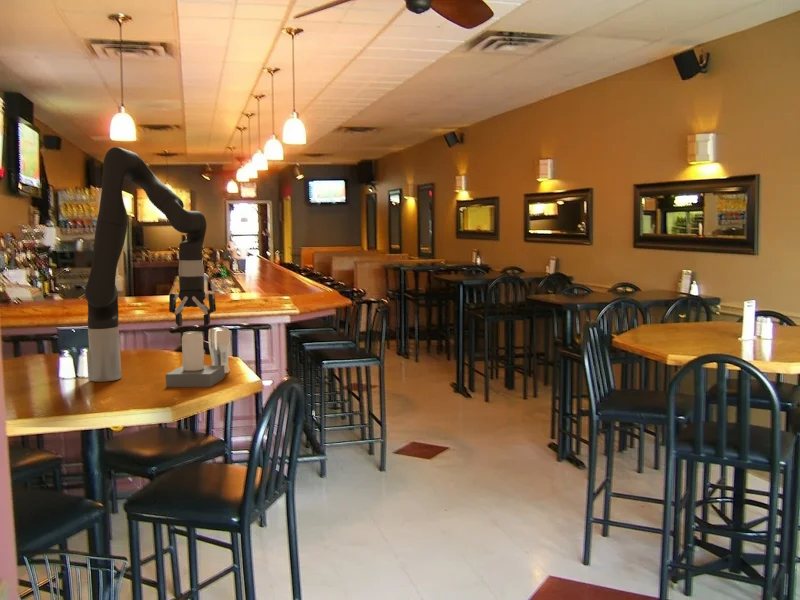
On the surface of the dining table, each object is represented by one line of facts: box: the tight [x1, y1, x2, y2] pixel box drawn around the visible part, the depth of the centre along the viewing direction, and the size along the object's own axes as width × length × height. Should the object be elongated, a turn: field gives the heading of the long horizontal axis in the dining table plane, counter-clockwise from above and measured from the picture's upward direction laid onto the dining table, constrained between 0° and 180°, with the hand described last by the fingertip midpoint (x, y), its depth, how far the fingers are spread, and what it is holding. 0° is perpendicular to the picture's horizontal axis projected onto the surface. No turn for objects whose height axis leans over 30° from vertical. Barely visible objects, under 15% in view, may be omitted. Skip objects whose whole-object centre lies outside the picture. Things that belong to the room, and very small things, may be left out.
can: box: [181, 330, 205, 372], centre depth 224 cm, size 6×6×12 cm
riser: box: [165, 365, 226, 388], centre depth 225 cm, size 14×14×4 cm
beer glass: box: [208, 327, 231, 375], centre depth 239 cm, size 7×7×15 cm
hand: (193, 326), depth 223 cm, fingers open, 8 cm apart
